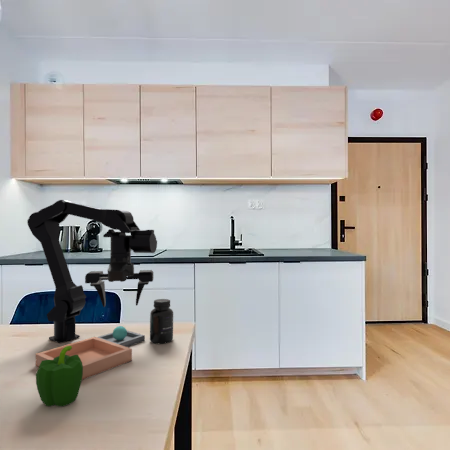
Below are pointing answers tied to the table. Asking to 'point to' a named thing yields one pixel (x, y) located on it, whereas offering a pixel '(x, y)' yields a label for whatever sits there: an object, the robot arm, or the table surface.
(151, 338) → the supplement bottle
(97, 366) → the dish
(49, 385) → the bell pepper
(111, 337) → the tray
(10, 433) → the table surface
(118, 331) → the ball
